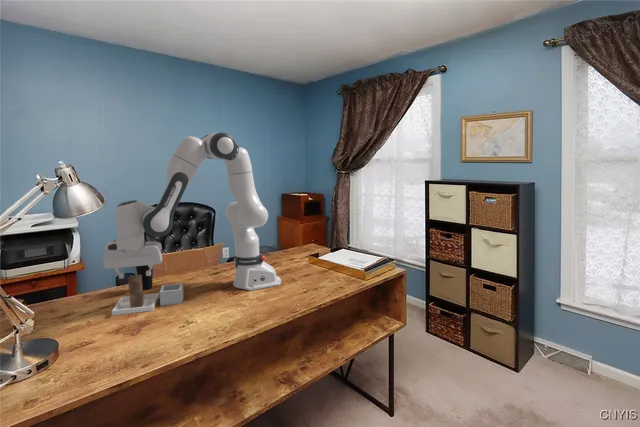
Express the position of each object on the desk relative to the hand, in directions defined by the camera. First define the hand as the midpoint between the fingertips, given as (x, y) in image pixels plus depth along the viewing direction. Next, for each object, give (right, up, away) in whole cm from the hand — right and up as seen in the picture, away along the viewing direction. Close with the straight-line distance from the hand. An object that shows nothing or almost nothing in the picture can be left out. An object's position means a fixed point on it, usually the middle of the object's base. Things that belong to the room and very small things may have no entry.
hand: (135, 276), depth 135 cm
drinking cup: (-6, -10, +21) cm, 24 cm away
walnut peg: (0, -12, +2) cm, 12 cm away
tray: (0, -13, +2) cm, 13 cm away
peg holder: (+12, -12, +6) cm, 18 cm away
